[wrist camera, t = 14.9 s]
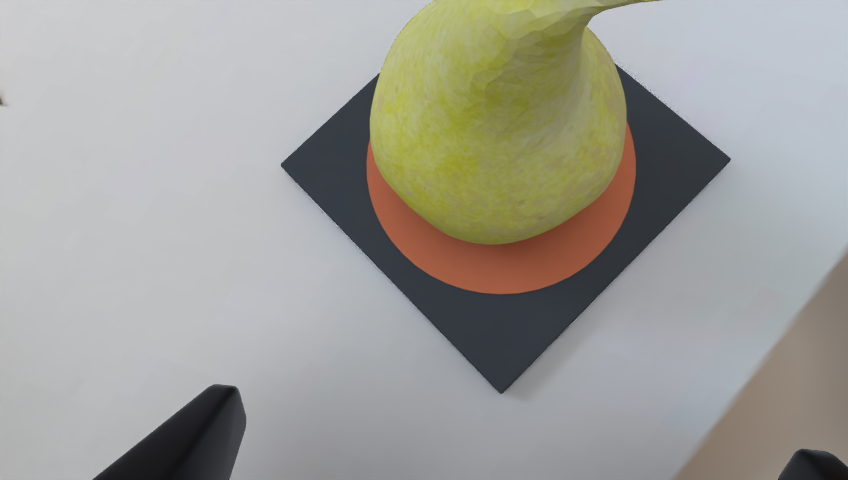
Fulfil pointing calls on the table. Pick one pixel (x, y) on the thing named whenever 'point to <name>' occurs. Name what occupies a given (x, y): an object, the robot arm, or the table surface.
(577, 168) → the fruit
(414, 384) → the table surface
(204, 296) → the table surface
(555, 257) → the mat
